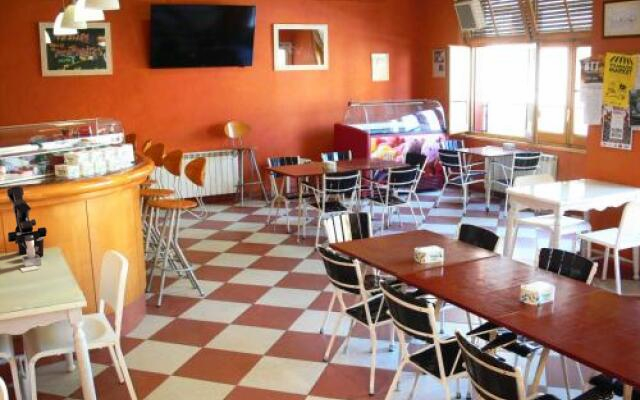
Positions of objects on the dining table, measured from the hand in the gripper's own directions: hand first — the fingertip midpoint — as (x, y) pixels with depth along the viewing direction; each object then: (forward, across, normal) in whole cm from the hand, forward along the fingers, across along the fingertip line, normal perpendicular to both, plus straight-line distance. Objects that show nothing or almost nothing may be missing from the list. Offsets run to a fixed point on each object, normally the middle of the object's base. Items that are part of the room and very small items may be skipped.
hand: (30, 247), depth 345 cm
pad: (+11, -3, +2) cm, 12 cm away
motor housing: (+6, 0, +8) cm, 10 cm away
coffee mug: (-5, +4, +19) cm, 20 cm away
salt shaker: (+4, 0, +6) cm, 7 cm away
